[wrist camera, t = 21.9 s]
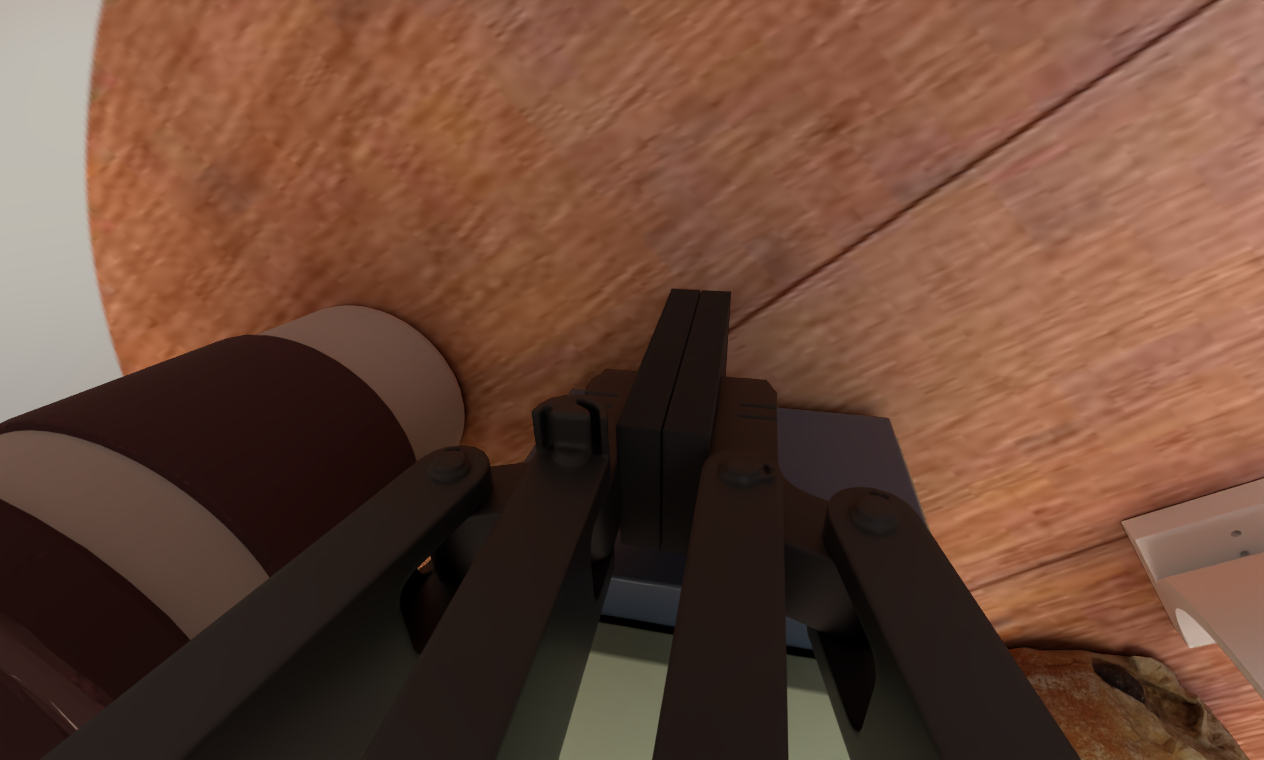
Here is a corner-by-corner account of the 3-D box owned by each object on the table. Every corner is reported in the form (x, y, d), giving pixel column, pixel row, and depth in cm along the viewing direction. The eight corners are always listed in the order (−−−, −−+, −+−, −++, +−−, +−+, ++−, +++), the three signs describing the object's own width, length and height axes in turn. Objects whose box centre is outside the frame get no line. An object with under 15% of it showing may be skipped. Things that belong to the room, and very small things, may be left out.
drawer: (569, 354, 19) (453, 509, 12) (897, 380, 17) (982, 582, 10) (587, 621, 24) (514, 831, 17) (835, 664, 22) (863, 919, 16)
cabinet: (564, 404, 21) (424, 622, 12) (898, 437, 19) (1000, 727, 10) (582, 639, 26) (492, 901, 18) (840, 685, 24) (877, 1007, 16)
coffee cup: (295, 475, 25) (-216, 893, 12) (234, 249, 21) (-686, 532, 8) (510, 515, 24) (186, 1049, 11) (496, 280, 19) (-106, 708, 6)
